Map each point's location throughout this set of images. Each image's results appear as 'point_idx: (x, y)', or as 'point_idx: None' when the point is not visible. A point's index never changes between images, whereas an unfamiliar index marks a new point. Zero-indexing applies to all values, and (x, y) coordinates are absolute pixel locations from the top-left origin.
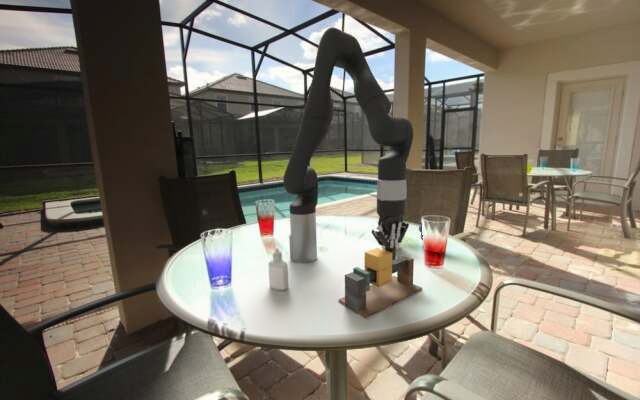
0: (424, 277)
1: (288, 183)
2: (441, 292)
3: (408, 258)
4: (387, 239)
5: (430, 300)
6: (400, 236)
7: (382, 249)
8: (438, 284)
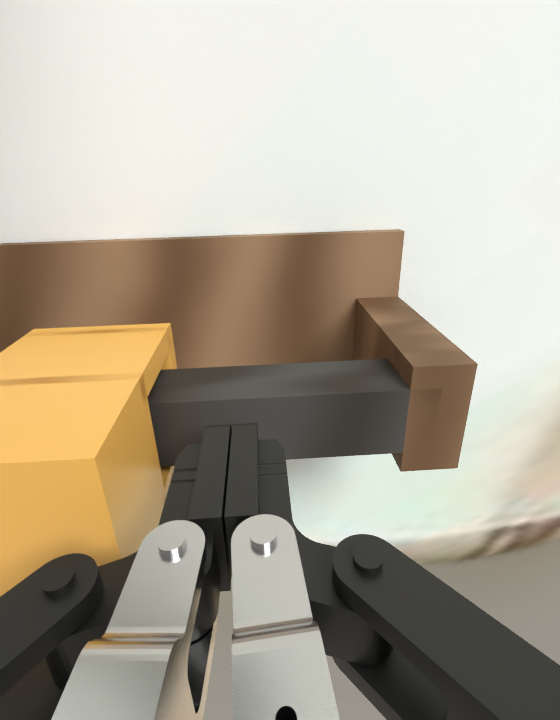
0: (523, 341)
1: None
2: (420, 471)
3: (431, 446)
4: (190, 624)
5: (322, 484)
6: (386, 709)
7: (111, 523)
8: (488, 425)
